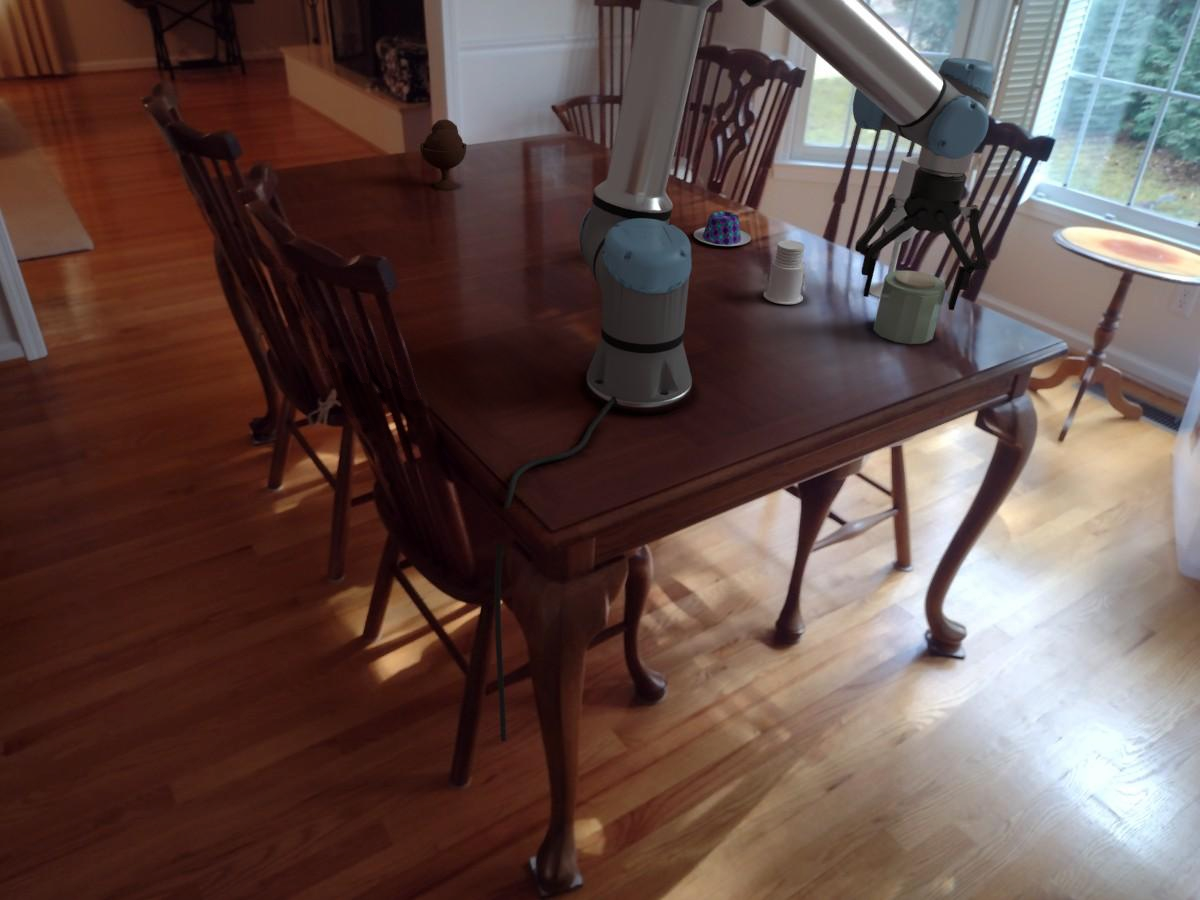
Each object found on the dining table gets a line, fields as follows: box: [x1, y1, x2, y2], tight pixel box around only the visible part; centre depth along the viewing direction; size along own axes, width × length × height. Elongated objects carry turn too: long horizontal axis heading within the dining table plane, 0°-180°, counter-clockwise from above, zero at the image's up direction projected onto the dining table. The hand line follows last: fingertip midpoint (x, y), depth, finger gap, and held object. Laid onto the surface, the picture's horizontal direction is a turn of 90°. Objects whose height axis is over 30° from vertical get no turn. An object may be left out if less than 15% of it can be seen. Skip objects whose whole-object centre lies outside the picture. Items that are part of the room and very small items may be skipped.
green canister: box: [873, 270, 947, 345], centre depth 144 cm, size 10×10×10 cm
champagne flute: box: [869, 156, 920, 299], centre depth 155 cm, size 7×7×24 cm
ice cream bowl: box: [419, 119, 467, 191], centre depth 204 cm, size 11×11×15 cm
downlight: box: [763, 239, 807, 305], centre depth 154 cm, size 8×7×10 cm
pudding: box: [693, 210, 752, 247], centre depth 181 cm, size 12×12×5 cm
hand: (907, 300), depth 144 cm, fingers open, 13 cm apart
